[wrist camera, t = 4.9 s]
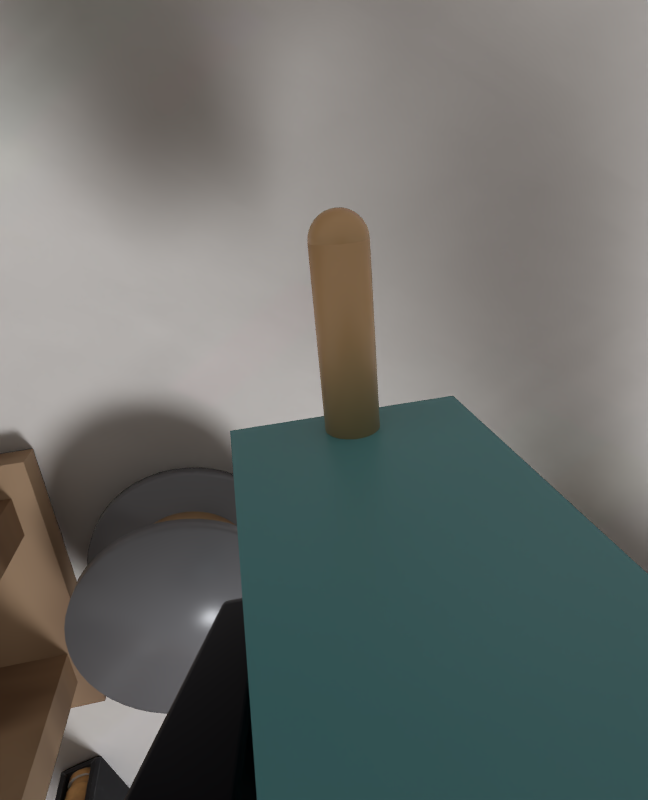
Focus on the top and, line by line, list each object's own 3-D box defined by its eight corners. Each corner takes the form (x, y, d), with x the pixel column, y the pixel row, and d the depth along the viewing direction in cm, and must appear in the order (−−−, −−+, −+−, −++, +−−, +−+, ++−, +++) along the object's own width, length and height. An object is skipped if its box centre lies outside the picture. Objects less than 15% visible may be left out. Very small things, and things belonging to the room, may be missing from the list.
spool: (276, 452, 21) (288, 509, 17) (298, 608, 24) (313, 686, 20) (67, 487, 20) (33, 556, 16) (116, 646, 23) (98, 735, 19)
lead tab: (453, 192, 9) (1114, 237, 2) (452, 573, 12) (747, 1058, 5) (194, 219, 8) (132, 378, 2) (260, 612, 11) (328, 1207, 5)
